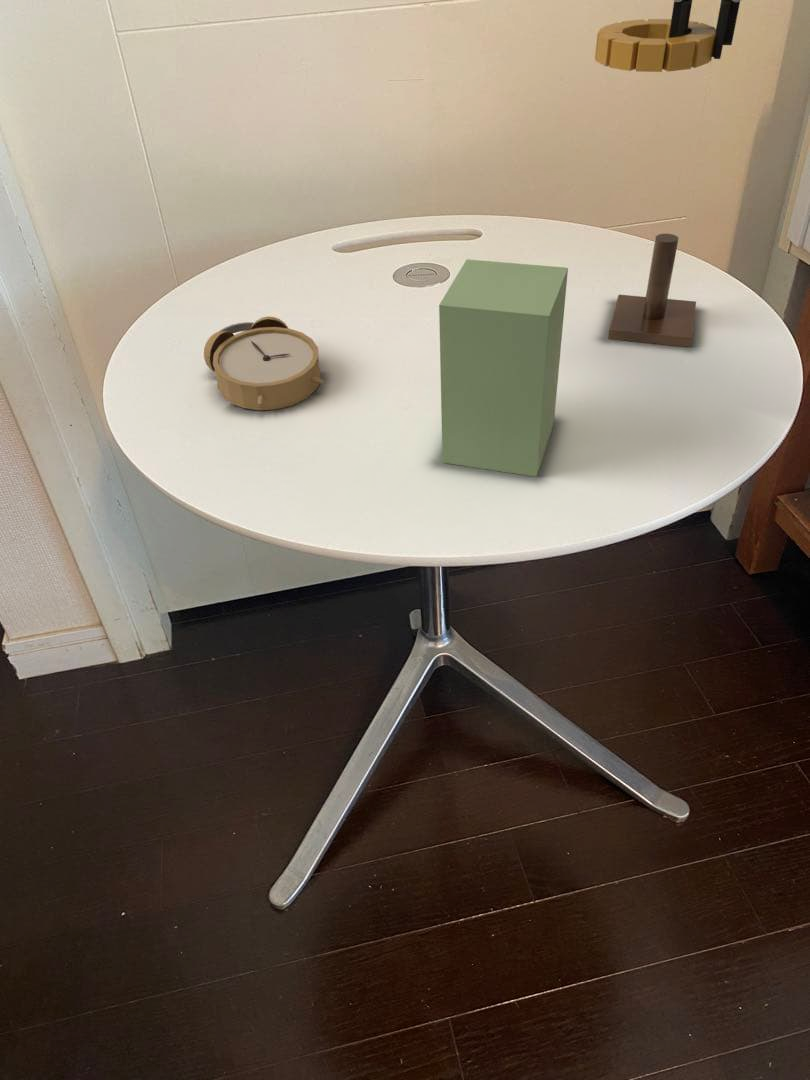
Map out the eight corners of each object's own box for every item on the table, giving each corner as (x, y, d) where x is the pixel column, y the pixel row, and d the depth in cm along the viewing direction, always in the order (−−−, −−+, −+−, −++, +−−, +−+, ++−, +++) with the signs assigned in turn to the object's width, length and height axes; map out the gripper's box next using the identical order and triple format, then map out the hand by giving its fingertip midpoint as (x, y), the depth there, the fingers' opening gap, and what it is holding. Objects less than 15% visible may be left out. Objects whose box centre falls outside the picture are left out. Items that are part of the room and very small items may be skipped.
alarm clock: (241, 400, 80) (181, 320, 88) (246, 436, 84) (188, 357, 92) (339, 365, 85) (273, 292, 92) (339, 401, 88) (277, 327, 96)
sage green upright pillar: (554, 422, 80) (568, 267, 69) (536, 477, 74) (549, 315, 63) (466, 411, 82) (466, 259, 72) (442, 462, 76) (438, 304, 65)
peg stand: (694, 310, 96) (712, 224, 89) (690, 347, 90) (708, 258, 83) (617, 303, 98) (628, 219, 91) (607, 338, 92) (619, 251, 85)
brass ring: (712, 45, 72) (717, 19, 70) (709, 73, 65) (715, 44, 64) (602, 44, 74) (605, 18, 73) (589, 70, 67) (591, 43, 66)
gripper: (871, -256, 57) (797, 46, 69) (635, -240, 60) (605, 43, 73) (884, -260, 51) (802, 68, 64) (625, -241, 55) (595, 64, 68)
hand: (697, 52), depth 68 cm, fingers closed on brass ring, 2 cm apart
